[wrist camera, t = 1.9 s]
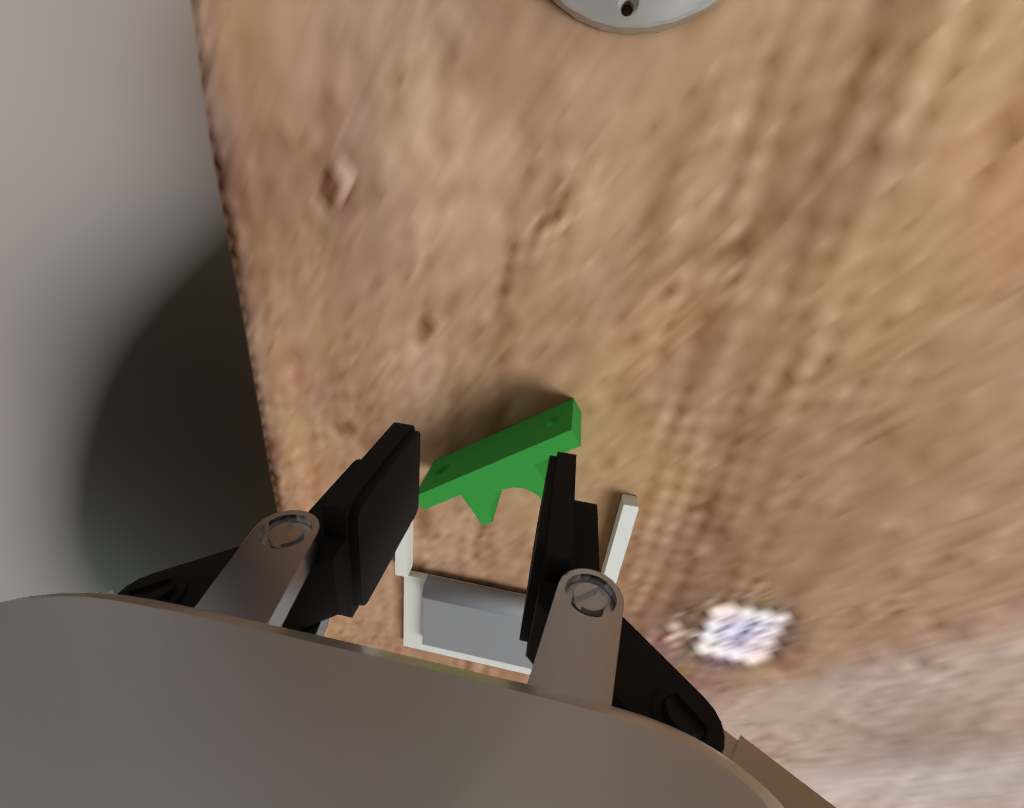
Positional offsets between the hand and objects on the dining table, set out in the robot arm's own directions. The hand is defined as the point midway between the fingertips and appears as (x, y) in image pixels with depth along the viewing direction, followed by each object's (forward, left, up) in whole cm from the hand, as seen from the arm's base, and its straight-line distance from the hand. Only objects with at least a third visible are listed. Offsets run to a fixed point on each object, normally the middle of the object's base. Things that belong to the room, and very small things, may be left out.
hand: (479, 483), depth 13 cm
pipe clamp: (+8, -1, -16) cm, 18 cm away
